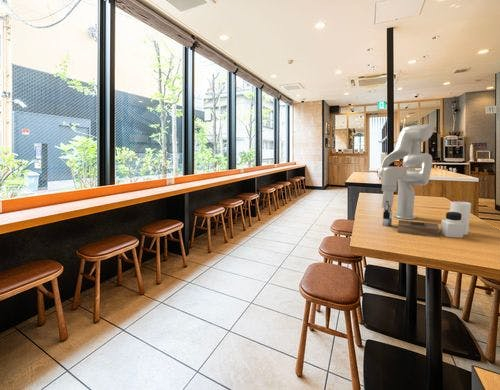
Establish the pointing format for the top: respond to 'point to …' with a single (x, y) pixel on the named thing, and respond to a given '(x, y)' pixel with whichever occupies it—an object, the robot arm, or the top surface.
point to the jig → (418, 228)
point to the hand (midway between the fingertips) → (387, 217)
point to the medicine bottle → (452, 225)
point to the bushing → (388, 220)
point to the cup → (463, 209)
